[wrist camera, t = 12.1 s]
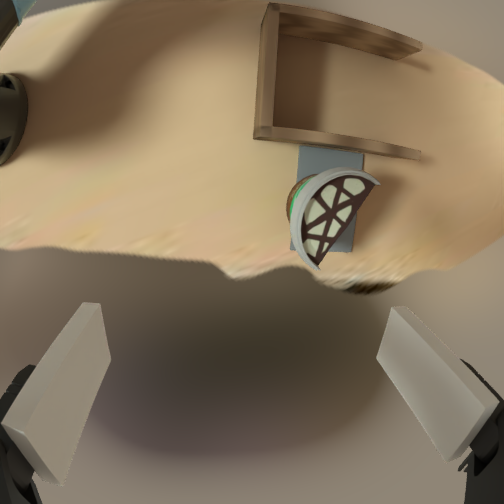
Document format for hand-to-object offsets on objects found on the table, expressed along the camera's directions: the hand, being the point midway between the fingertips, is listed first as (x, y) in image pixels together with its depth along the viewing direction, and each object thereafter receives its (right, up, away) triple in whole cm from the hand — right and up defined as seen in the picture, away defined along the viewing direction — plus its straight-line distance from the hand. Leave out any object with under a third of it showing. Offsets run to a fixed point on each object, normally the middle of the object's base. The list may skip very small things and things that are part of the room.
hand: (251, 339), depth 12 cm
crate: (+11, +25, +24) cm, 36 cm away
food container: (+7, +11, +28) cm, 31 cm away
